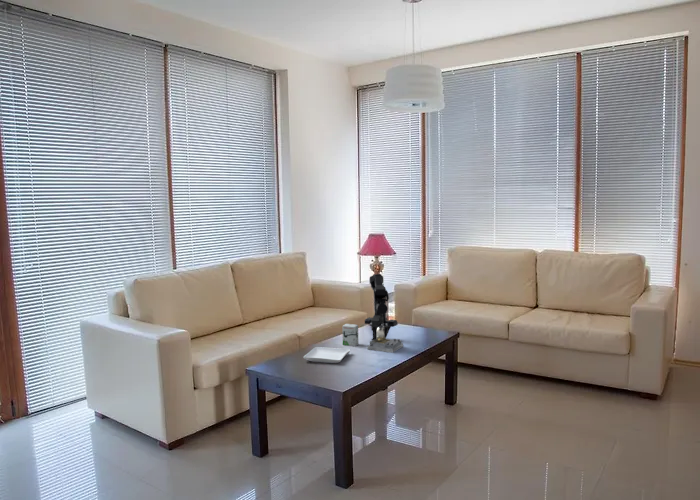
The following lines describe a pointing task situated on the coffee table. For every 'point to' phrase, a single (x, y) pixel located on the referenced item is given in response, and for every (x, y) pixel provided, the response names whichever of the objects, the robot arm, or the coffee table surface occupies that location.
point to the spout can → (380, 332)
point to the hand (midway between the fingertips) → (381, 336)
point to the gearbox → (385, 345)
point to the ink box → (350, 334)
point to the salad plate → (326, 354)
